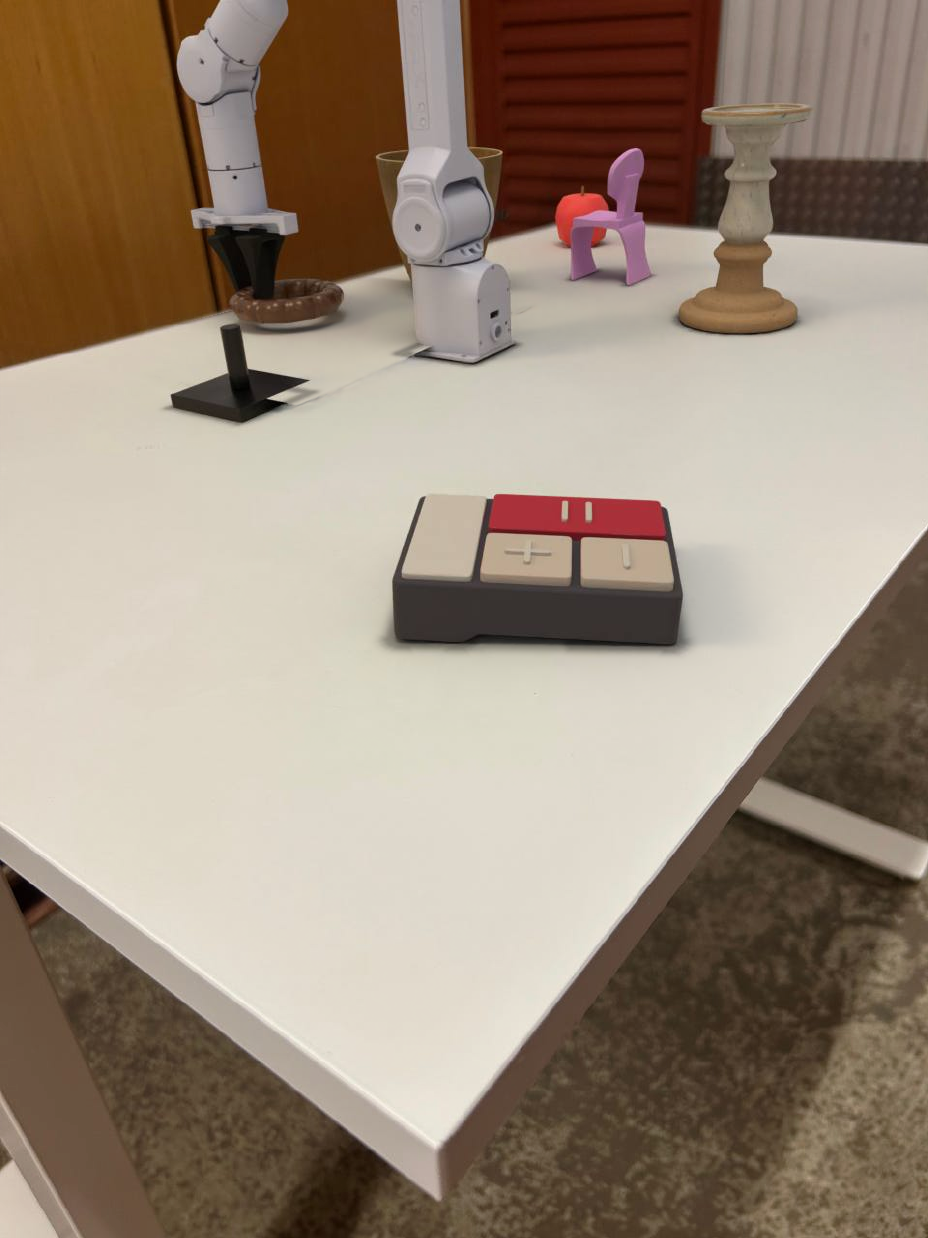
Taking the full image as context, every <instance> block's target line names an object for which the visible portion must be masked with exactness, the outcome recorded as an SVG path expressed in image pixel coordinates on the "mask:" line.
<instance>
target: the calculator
mask: <svg viewBox="0 0 928 1238" xmlns="http://www.w3.org/2000/svg"><path fill="white" fill-rule="evenodd" d="M673 538H674V537H673V531H672V526H671V521H670V516H669V511H668V509H667V507H664V506H662V503H661V502H660V501H659V500H655V499H654V500H653V499H652V500H651V499H632V498H631V499H629V498H607V497H583V496H559V495H536V494H535V495H534V494H513V493H496V494H494V495H493V498H487V497H486V496H484V495H471V494H470V495H469V494H445V493H428V494H426V495H424V496H422V497H420V498H419V500H418V502H417V505H416V509H415V511H414V514H413V517H412V519H411V523H410V525H409V528H408V532H407V534H406V538H405V541H404V543H403V546H402V550H401V553H400V555H399V558H398V562H397V564H396V566H395V570H394V573H393V577H392V580H391V587H392V592H391V593H392V611H393V612H392V613H393V630H394V631H393V632H394V636H395V637H396V638H397V639H401V640H413V641H428V642H429V641H431V642H449V643H463V642H465V641H468V640H470V639H472V638H474V637H476V636H478V635H492V636H493V635H495V636H511V637H528V638H530V637H531V638H549V639H562V640H563V639H564V640H566V639H567V640H581V641H583V640H584V641H603V642H619V643H620V642H621V643H622V642H623V643H637V644H640V643H641V644H657V645H673V644H675V643H676V642H677V640H678V635H679V628H680V621H681V614H682V606H683V599H684V593H683V586H682V582H681V577H680V576H681V575H680V571H679V565H678V560H677V553H676V549H675V543H674V540H673Z"/></svg>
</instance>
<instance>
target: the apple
mask: <svg viewBox="0 0 928 1238" xmlns="http://www.w3.org/2000/svg"><path fill="white" fill-rule="evenodd" d="M580 186H581V185H580ZM598 210H602V211H610V210H609V204H608V203H607V202H606V200H605V198H604V196H603V195H601V194H598V193H591V192H590V193H587V192H585V186H584V185H582V186H581V187H580V193H573V194H568V195H565V196H562V198H561V199H560V201H559V202H558V204H557V206H556V211H555V215H554V219H555V225H556V230H557V234H558V236H557V237H558V239H559V240H560V241H562V242H563V243H564V244H566V245H567V246H568V247H569V248H571V242H570V230H571V228H572V227H573V218H576V217H580V216H585V215H588V214H590V213H592V212H595V211H598ZM607 231H608V229H607V228H602V227H595V228H594V231H593V234H592V239H591V248H592V247H594V246H596V245H597V244H598V243H600V242H601V241H602V240H604V239H605V238H606V235H607Z"/></svg>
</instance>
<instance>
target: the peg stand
mask: <svg viewBox="0 0 928 1238" xmlns="http://www.w3.org/2000/svg"><path fill="white" fill-rule="evenodd" d="M219 331H220V335H221V342H222V347H223V352H224V358H225V363H226V369H227V373H224V374H222V375H219V376H216V377H214V378H211V379H208V380H205V381H203V382H200V383H197V384H195V385H192V386H190V387H187V388H184V389H181V390H179V391H176V392H174V393H170V399H171V404H172V407H173V408H177V409H181V410H186V411H189V412H194V413H199V414H203V415H206V416H207V415H208V416H213V417H216V418H221V419H225V420H228V421H229V420H230V421H234V422H239V423H244V422H245V421H248V420H250V419H253V418H255V417H257V416H260V415H262V414H265V413H266V412H269V411H271V410H274V409H276V408H278V407H281V406H284V405H285V404H287V402H286V401H282V400H281V401H280V400H277V399H271V397H274V396H276V395H278V394H281V393H283V392H287V391H288V390H291V389H293V388H296V387H298V386H301V385H303V384H305V383H307V382H310V381H311V379H307V378H301V377H295V376H291V375H285V374H279V373H273V372H269V371H264V370H263V371H262V370H257V369H253V368H252V369H251V368H248V362H247V355H246V349H245V344H244V337H243V332H242V326H241V325H240V324H238V323H227V324H224V325H221V326H220V327H219Z"/></svg>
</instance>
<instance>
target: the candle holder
mask: <svg viewBox="0 0 928 1238" xmlns="http://www.w3.org/2000/svg"><path fill="white" fill-rule="evenodd" d="M813 108H814V107H813V106H812V105H810V104H806V103H793V102H792V103H790V102H789V103H787V102H785V103H784V102H781V103H779V102H777V103H776V102H775V103H774V102H773V103H772V102H771V103H746V104H731V105H721V106H712V107H708V108H707V107H706V108H704V109H703V110H702V111H701V113H700V119H701V122H702V123H704V124H706V125H711V126H720V127H721V126H723V127H724V128H725V134H726V137H727V140H728V141H729V142H730V143H731V144H732V147H733V152H734V154H733V155H734V156H733V160H732V163H731V165H729V167H728V168H727V169H725V171H724V174H723V175H724V178H725V179H726V180H727V181H729V187H728V190H727V191H728V192H727V195H726V199H725V203H724V206H723V209H722V211H721V214H720V216H719V218H718V222H717V230H718V233H719V235H720V236H721V237H722V238H723V241H721V242H720V243H719V245H718V246H717V247H716V248H715V249H714V250H713V257H714V259H716V262H717V263H718V264H719V268H718V274H717V279H716V283H715V285H714V286H711V287H706V288H704V289H701V290H699V291H698V292H696V294H695V295H694V296H693V297H691V298H688V299H685V300H684V301H683V302H682V303H681V304H680V306H679V308H678V319H679V321H680V322H681V323H682V324H683V325H685V326H688V327H689V328H693V329H695V330H700V331H706V332H712V333H719V334H757V333H766V332H767V333H768V332H773V331H776V330H777V331H778V330H781V329H785V328H787V327H789V326H791V325H792V324H794V323H795V322H796V319H797V316H798V308H797V307H798V306H797V305H796V304H795V303H794V302H793V301H791V300H790V299H787V298H784V297H783V295H782V293H781V292H780V291H778V290H776V289H774V288H771V287H766V286H764V265H765V264H766V263H767V261H769V259H770V258H771V257H772V254H773V250H772V248H771V247H770V246H769V244H768V242H767V241H766V240H765V239H766V238H767V236H769V235H770V234H771V232H772V231H773V228H774V218H773V211H772V208H771V200H770V181H771V180H773V179H774V178H775V177H776V176H777V169H776V168H775V167H774V166H773V165H772V162H771V152H772V151H771V150H772V148H773V145H774V144H775V143H776V142H777V141H778V140H779V139H780V137H782V134H783V132H784V129H785V126H786V125H787V124H795V123H802V122H805V121H807V120H809V119H811V117H812V115H813V112H814V111H813Z"/></svg>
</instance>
